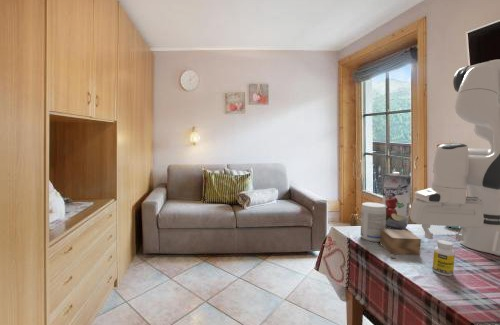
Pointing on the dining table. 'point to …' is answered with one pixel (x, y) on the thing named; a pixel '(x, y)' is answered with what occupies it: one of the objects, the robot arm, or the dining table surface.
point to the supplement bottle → (443, 258)
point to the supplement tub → (372, 221)
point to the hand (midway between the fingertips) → (444, 239)
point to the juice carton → (397, 200)
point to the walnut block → (400, 242)
